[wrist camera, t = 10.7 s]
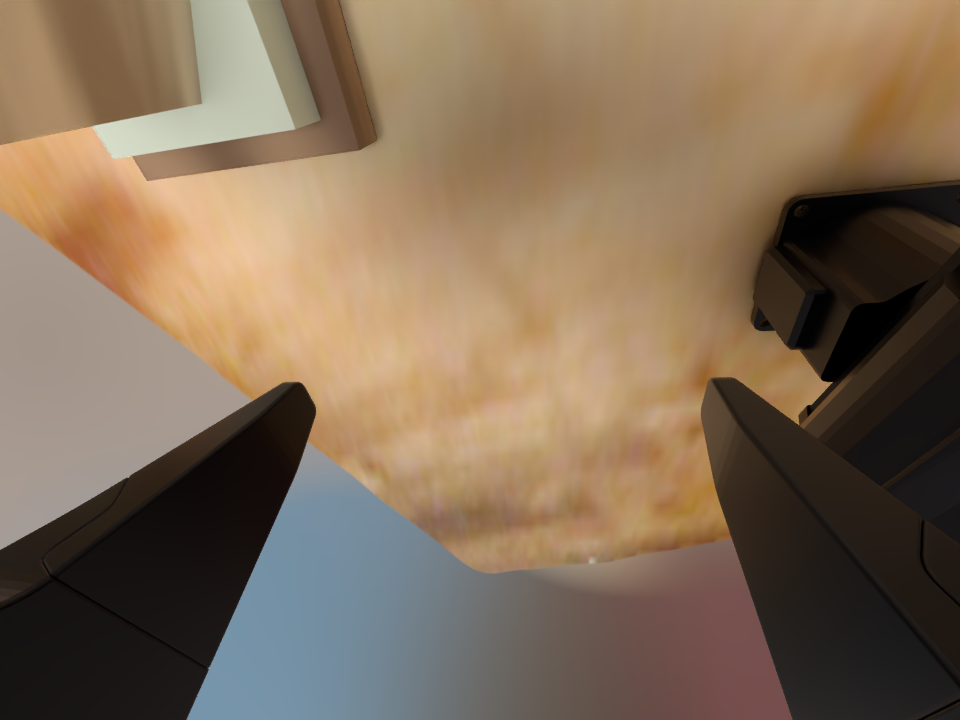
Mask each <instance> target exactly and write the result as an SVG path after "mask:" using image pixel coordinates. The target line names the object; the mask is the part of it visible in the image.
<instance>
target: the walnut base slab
mask: <svg viewBox="0 0 960 720" xmlns="http://www.w3.org/2000/svg"><path fill="white" fill-rule="evenodd" d="M280 1H281V4H282V7H283V10H284V13H285V16H286V19H287V22H288V24H289V27H290V30H291V33H292V36H293V39H294V42H295V45H296V48H297V51H298V54H299V57H300V60H301V63H302V66H303V69H304V72H305V75H306V77H307V80H308V83H309V86H310V89H311V92H312V95H313V98H314V101H315V104H316V107H317V110H318V113H319V116H320V119H321V120H320V121H317V122H314V123H312V124H309V125H306V126H303V127H301V128H298V129H295V130H289V131H283V132H277V133H270V134H264V135H258V136H252V137H246V138H240V139H234V140H228V141H222V142H216V143H209V144H203V145H197V146H191V147H185V148H179V149H173V150H167V151H161V152H155V153H149V154H142V155H136V156H132V157H133V159H134V160H135V162H136V164H137V165H138V167H139V169H140V170H141V172H142V173H143V175H144V177H145V178H146V180H147V181H150V180H157V179H164V178H171V177H178V176H185V175H192V174H198V173H205V172H212V171H219V170H226V169H233V168H240V167H247V166H253V165H260V164H267V163H274V162H281V161H288V160H295V159H301V158H308V157H315V156H322V155H329V154H336V153H343V152H350V151H356V150H361V149H362V148H364V147H366V146H367V145H369V144H371V143H373V142H374V141H376V140H377V139H376V135H375V132H374V128H373V124H372V121H371V117H370V113H369V110H368V106H367V102H366V99H365V95H364V91H363V88H362V84H361V81H360V77H359V73H358V70H357V66H356V62H355V59H354V55H353V51H352V48H351V44H350V40H349V37H348V33H347V29H346V26H345V22H344V18H343V15H342V11H341V8H340V4H339V0H280Z"/></svg>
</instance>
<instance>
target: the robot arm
mask: <svg viewBox="0 0 960 720" xmlns="http://www.w3.org/2000/svg"><path fill="white" fill-rule="evenodd" d="M959 195H960V181H951V182H941V183H930V184H919V185H909V186H898V187H888V188H877V189H866V190H856V191H845V192H834V193H824V194H813V195H803V196H798V197H795V198H793V199H791V200H790V201H789V202H788V203H787V204H786V205H785V207H784V209H783V213H782V216H781V219H780V223H779V226H778V229H777V233H776V236H775V240H774V243H773V246H772V247H770V248H769V249H768V250H767V251H766V253H765V257H764V260H763V264H762V267H761V271H760V274H759V278H758V281H757V285H756V288H755V292H754V295H753V300H754V301H755V302H756V304H755V307H754V311H753V314H752V317H751V323H752V324H753V326H754V327H755V329H757V330H759V331H776V332H777V334H778V335H779V337H780V338H781V340H782V341H783V342H784V344H785V345H786V346H787V347H788V348H789V349H791V350H800V351H801V353H802V354H803V355H804V357H805V358H806V359H807V361H808V362H809V363H810V365H811V366H812V368H813V369H814V370H815V372H816V373H817V374H818V376H819V377H820V378H821V380H823V381H825V382H833V383H832V384H831V385H830V386H829V387H828V388H827V389H826V390H825V391H824V392H823V394H822V395H821V396H820V397H819V398H818V399H817V400H816V401H815V402H814V403H813V404H812V405H808V406H806V407H805V408H804V410H803V411H802V412H801V413H800V414H799V425H800V426H799V425H798V424H796V423H795V422H793V421H792V420H791V419H789V418H788V417H787V416H785V415H784V414H783V413H781V412H780V411H779V410H777V409H776V408H775V407H773V406H772V405H771V404H769V403H768V402H766V401H765V400H764V399H762V398H761V397H760V396H758V395H757V394H756V393H754V392H753V391H752V390H750V389H749V388H748V387H746V386H745V385H744V384H742V383H741V382H739V381H738V380H737V379H735V378H731V377H714V378H711V379H710V380H709V381H708V383H707V387H706V391H705V395H704V399H703V403H702V407H701V419H702V424H703V429H704V434H705V439H706V444H707V450H708V455H709V460H710V465H711V470H712V475H713V479H714V484H715V488H716V492H717V495H718V498H719V502H720V505H721V508H722V510H723V513H724V516H725V519H726V522H727V525H728V528H729V531H730V534H731V537H732V540H733V543H734V546H735V549H736V552H737V555H738V558H739V561H740V564H741V567H742V570H743V573H744V576H745V579H746V582H747V585H748V588H749V591H750V594H751V597H752V600H753V603H754V606H755V609H756V612H757V615H758V618H759V621H760V624H761V627H762V630H763V633H764V636H765V639H766V642H767V645H768V648H769V651H770V654H771V657H772V659H773V663H774V666H775V669H776V672H777V674H778V677H779V680H780V684H781V686H782V690H783V693H784V695H785V698H786V701H787V704H788V707H789V710H790V713H791V716H792V719H793V720H960V199H957V197H958V196H959ZM801 205H804V208H803V210H802V211H801V212H799V213H797V214H794V211H795V209H796V208H797V207H799V206H801ZM765 318H767V320H766V321H765V322H760V321H761V320H763V319H765ZM315 416H316V407H315V404H314V402H313V401H312V399H311V397H310V395H309V393H308V392H307V390H306V388H305V386H304V385H303V384H302V383H300V382H284V383H282V384H280V385H278V386H277V387H275V388H273V389H272V390H270V391H268V392H267V393H265V394H263V395H262V396H260V397H259V398H257V399H255V400H254V401H252V402H250V403H249V404H247V405H245V406H244V407H242V408H240V409H239V410H237V411H236V412H234V413H232V414H231V415H229V416H227V417H226V418H224V419H222V420H221V421H219V422H217V423H216V424H214V425H212V426H211V427H209V428H208V429H206V430H204V431H203V432H201V433H199V434H198V435H196V436H194V437H193V438H191V439H189V440H188V441H186V442H185V443H183V444H181V445H180V446H178V447H176V448H175V449H173V450H171V451H170V452H168V453H166V454H165V455H163V456H162V457H160V458H158V459H157V460H155V461H153V462H152V463H150V464H148V465H147V466H145V467H143V468H142V469H140V470H139V471H137V472H135V473H134V474H132V475H131V476H130V477H129V478H125V479H123V480H122V481H120V482H119V483H117V484H115V485H114V486H112V487H110V488H109V489H107V490H105V491H104V492H102V493H100V494H99V495H97V496H95V497H94V498H92V499H90V500H89V501H87V502H85V503H83V504H82V505H80V506H78V507H77V508H75V509H73V510H71V511H69V512H68V513H66V514H64V515H62V516H61V517H59V518H57V519H56V520H54V521H52V522H50V523H48V524H47V525H45V526H43V527H41V528H39V529H37V530H36V531H34V532H32V533H30V534H28V535H26V536H25V537H23V538H21V539H19V540H17V541H16V542H14V543H12V544H10V545H8V546H7V547H5V548H3V549H1V550H0V720H187V717H188V715H189V713H190V711H191V708H192V706H193V704H194V701H195V699H196V697H197V695H198V693H199V690H200V688H201V686H202V684H203V682H204V679H205V677H206V675H207V673H208V670H209V669H208V668H209V667H210V665H211V663H212V661H213V658H214V656H215V654H216V652H217V650H218V647H219V645H220V643H221V641H222V638H223V636H224V634H225V631H226V629H227V627H228V625H229V622H230V620H231V618H232V616H233V614H234V611H235V609H236V607H237V605H238V603H239V600H240V598H241V596H242V594H243V591H244V589H245V587H246V585H247V582H248V580H249V578H250V576H251V573H252V571H253V569H254V567H255V564H256V562H257V560H258V558H259V556H260V553H261V551H262V549H263V547H264V544H265V542H266V540H267V538H268V535H269V533H270V531H271V529H272V526H273V524H274V522H275V520H276V517H277V515H278V513H279V511H280V509H281V506H282V504H283V502H284V500H285V497H286V495H287V493H288V490H289V488H290V486H291V484H292V482H293V479H294V477H295V474H296V472H297V470H298V467H299V464H300V461H301V458H302V455H303V452H304V449H305V446H306V443H307V440H308V437H309V434H310V431H311V428H312V425H313V422H314V419H315Z"/></svg>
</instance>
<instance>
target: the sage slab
mask: <svg viewBox="0 0 960 720" xmlns="http://www.w3.org/2000/svg"><path fill="white" fill-rule="evenodd" d="M190 3H191V12H192V21H193V29H194V38H195V47H196V56H197V64H198V73H199V82H200V91H201V100H202V104H199V105H194V106H189V107H184V108H179V109H174V110H169V111H164V112H159V113H154V114H150V115H145V116H140V117H135V118H130V119H125V120H120V121H115V122H110V123H105V124H100V125H95V126H92V127H93V128H94V130H95V131H96V133H97V135H98V136H99V138H100V139H101V141H102V142H103V144H104V145H105V147H106V149H107V150H108V152H109V153H110V155H111V156H112V158H113V159H118V158H124V157H130V156H136V155H142V154H149V153H155V152H161V151H167V150H173V149H179V148H185V147H191V146H197V145H203V144H209V143H216V142H222V141H228V140H234V139H240V138H246V137H252V136H258V135H264V134H270V133H277V132H283V131H289V130H295V129H298V128H301V127H303V126H306V125H309V124H312V123H314V122H317V121H320V120H321V119H320V116H319V113H318V110H317V107H316V104H315V101H314V98H313V95H312V92H311V89H310V86H309V83H308V80H307V77H306V75H305V72H304V69H303V66H302V63H301V60H300V57H299V54H298V51H297V48H296V45H295V42H294V39H293V36H292V33H291V30H290V27H289V24H288V22H287V19H286V16H285V13H284V10H283V7H282V4H281V1H280V0H190Z"/></svg>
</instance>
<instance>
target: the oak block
mask: <svg viewBox="0 0 960 720" xmlns="http://www.w3.org/2000/svg"><path fill="white" fill-rule="evenodd" d="M199 104H202V100H201V91H200V82H199V73H198V64H197V56H196V47H195V38H194V29H193V21H192V12H191V3H190V0H0V145H2V144H7V143H12V142H17V141H22V140H27V139H32V138H36V137H41V136H46V135H51V134H56V133H61V132H66V131H71V130H76V129H81V128H86V127H91V126H95V125H100V124H105V123H110V122H115V121H120V120H125V119H130V118H135V117H140V116H145V115H150V114H154V113H159V112H164V111H169V110H174V109H179V108H184V107H189V106H194V105H199Z"/></svg>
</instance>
